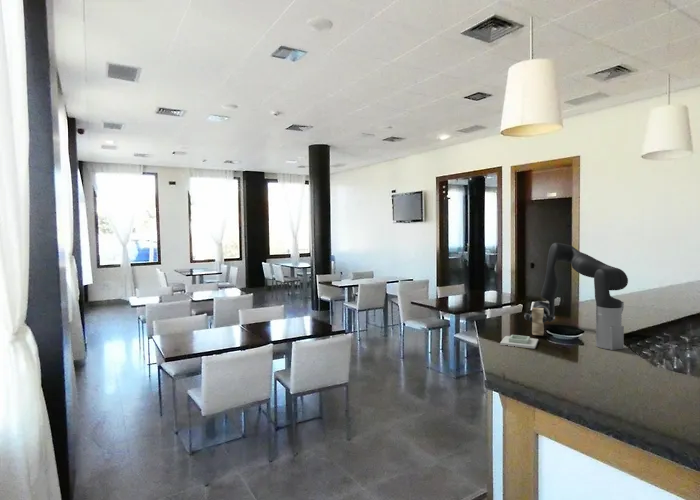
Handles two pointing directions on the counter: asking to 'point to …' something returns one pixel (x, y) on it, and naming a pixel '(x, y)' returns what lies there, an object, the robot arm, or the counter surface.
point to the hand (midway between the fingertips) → (537, 320)
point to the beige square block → (537, 321)
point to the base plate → (519, 341)
